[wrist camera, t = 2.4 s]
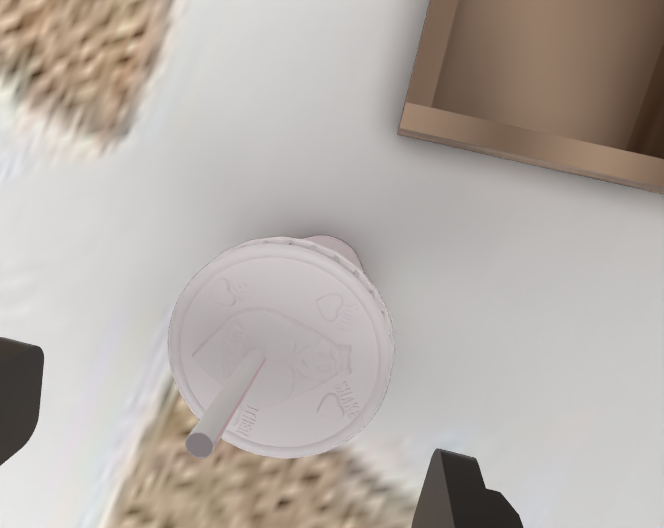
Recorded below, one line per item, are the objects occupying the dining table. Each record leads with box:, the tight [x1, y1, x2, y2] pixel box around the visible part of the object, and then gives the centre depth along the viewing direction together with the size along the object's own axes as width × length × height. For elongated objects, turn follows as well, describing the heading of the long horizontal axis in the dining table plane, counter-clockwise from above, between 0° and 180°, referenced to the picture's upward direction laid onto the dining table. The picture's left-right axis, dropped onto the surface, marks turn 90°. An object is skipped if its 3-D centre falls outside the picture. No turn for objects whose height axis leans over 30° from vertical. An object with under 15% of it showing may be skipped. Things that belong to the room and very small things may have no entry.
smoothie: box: [168, 235, 395, 458], centre depth 16 cm, size 6×6×14 cm
